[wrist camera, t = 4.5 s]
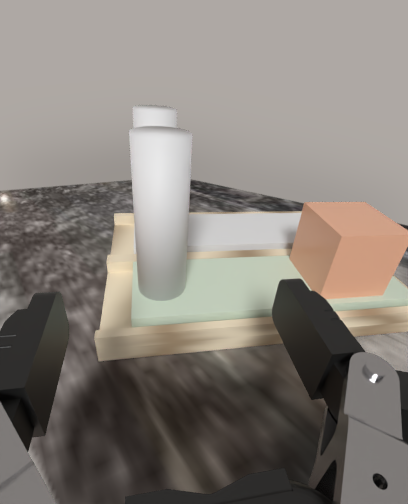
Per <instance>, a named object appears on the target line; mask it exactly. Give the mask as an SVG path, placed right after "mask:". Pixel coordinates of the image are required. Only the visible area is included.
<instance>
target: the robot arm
mask: <svg viewBox="0 0 408 504" xmlns="http://www.w3.org/2000/svg"><path fill="white" fill-rule="evenodd" d="M272 319H273V322H274V325H275V327H276V329H277V331H278V333H279V335H280V337H281V339H282V341H283V343H284V345H285V347H286V349H287V351H288V353H289V355H290V357H291V359H292V361H293V363H294V366H295V368H296V370H297V372H298V374H299V376H300V378H301V380H302V382H303V384H304V386H305V388H306V390H307V392H308V394H309V396H310V398H311V400H314V399H321V398H324V400H325V402H326V404H327V405H326V407H325V410H324V416H323V422H322V427H321V433H320V439H319V444H318V450H317V456H316V461H315V465H314V468H313V471H312V474H311V477H310V480H309V484H308V486H307V485H305V484H303V483H300V482H296V481H293V480H289V479H288V476H287V473H286V470H285V468H281V469H275V470H270V471H264V472H259V473H253V474H248V475H246V476H245V477H243V478H241V479H239V480H237V481H235V482H234V483H232V484H230V485H228V486H226V487H225V488H223V489H221V490H219V491H217V492H215V493H213V494H201V493H193V492H186V491H178V490H171V489H165V490H160V491H154V492H149V493H143V494H138V495H132V496H127V497H125V504H408V372H402V371H397V370H395V369H394V368H393V367H392V366H391V365H390V364H389V363H388V362H387V361H385V360H384V359H382V358H381V357H379V356H377V355H374V354H371V353H367V352H365V351H364V349H363V348H362V347H361V345H360V344H359V343H358V341H357V340H356V339H355V337H354V336H353V335H352V333H351V332H350V331H349V329H348V328H347V327H346V325H345V324H344V323H343V321H342V320H340V317H339V316H338V315H337V313H336V312H335V311H333V308H332V307H331V305H330V304H329V303H328V301H327V300H326V299H325V298H324V297H322V296H321V295H320V294H318V293H317V292H316V291H310V290H309V288H308V287H307V286H306V284H305V283H304V281H303V280H302V279H300V278H297V279H282V280H280V281H279V284H278V288H277V292H276V295H275V299H274V303H273V307H272ZM68 339H69V324H68V319H67V315H66V311H65V307H64V303H63V299H62V295H61V293H60V292H48V293H35V294H34V295H33V297H32V300H31V302H30V304H29V306H28V309H22V310H17V311H16V312H15V313H14V314H13V315H11V316H10V317H9V318H8V319H7V320H6V321H5V322H4V324H3V326H2V328H1V330H0V504H56V502H55V501H54V499H53V497H52V495H51V493H50V491H49V490H48V488H47V486H46V484H45V482H44V480H43V479H42V477H41V475H40V473H39V471H38V470H37V468H36V466H35V464H34V462H33V461H32V459H31V457H30V456H29V454H28V450H29V446H30V443H31V439H32V437H39V436H45V434H46V430H47V426H48V421H49V417H50V413H51V409H52V405H53V401H54V397H55V393H56V389H57V385H58V381H59V377H60V373H61V368H62V364H63V360H64V356H65V352H66V348H67V344H68Z"/></svg>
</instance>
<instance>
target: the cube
mask: <svg viewBox="0 0 408 504" xmlns="http://www.w3.org/2000/svg"><path fill="white" fill-rule="evenodd" d="M407 247H408V230H406V229H405V228H403V227H402V226H400V225H399V224H397V223H396V222H394V221H393V220H391V219H390V218H388V217H387V216H385V215H384V214H382V213H381V212H379V211H378V210H376V209H375V208H373V207H372V206H370V205H369V204H367V203H366V202H305V203H304V206H303V210H302V213H301V217H300V221H299V225H298V228H297V232H296V236H295V239H294V243H293V247H292V251H291V254H290V258H289V259H290V261H291V262H292V263H293V265H294V266H295V268H296V269H297V270H298V272H299V273H300V274H301V276H302V277H303V279H304V280H305V281H306V283H307V284H308V286H309V287H310V288H311V290H312V291H316V292H317V293H318V294H320V295H321V296H322V297H324V298H325V299H339V298H353V297H367V296H382V295H383V294H384V292H385V290H386V288H387V286H388V284H389V282H390V280H391V278H392V276H393V274H394V272H395V270H396V268H397V266H398V264H399V262H400V260H401V259H402V257H403V255H404V253H405V251H406V249H407Z"/></svg>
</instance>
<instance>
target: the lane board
mask: <svg viewBox="0 0 408 504" xmlns="http://www.w3.org/2000/svg"><path fill="white" fill-rule="evenodd" d="M255 213H302V211H294V212H204V213H189V214H255ZM114 221H115V228H114V235H113V242H112V249H111V255H108V257H107V269H108V276H107V283H106V289H105V296H104V303H103V310H102V317H101V323H100V330H96V332H95V338H94V339H95V344H96V350H97V355H98V361H108V360H118V359H128V358H139V357H149V356H159V355H170V354H180V353H190V352H201V351H211V350H221V349H232V348H242V347H252V346H263V345H273V344H283V341H282V339H281V337H280V335H279V333H278V331H277V329H276V327H275V325H274V322H273V319H272V317H259V318H246V319H234V320H221V321H208V322H195V323H183V324H170V325H157V326H144V327H132V323H131V308H132V279H133V262H136V261H137V256H136V254H134V213H115V214H114ZM291 251H292V249H264V250H235V251H207V252H187V259H212V258H237V257H262V256H287V255H290V254H291ZM393 276H394V275H393ZM394 277H395V276H394ZM395 278H396V277H395ZM396 279H397V280H398V281H399V282H400V283H402V282H401V281H400V280H399V279H398V278H396ZM402 284H403V283H402ZM403 285H404V284H403ZM404 286H405V287H406V288H407V289H408V287H407V286H406V285H404ZM335 312H336V313H337V315H338V316H339V317H340V320H342V321H343V323H344V324H345V325H346V327H347V328H348V329H349V331H350V332H351V333H352V335H353V336H354V337H356V336H366V335H377V334H387V333H397V332H408V306H399V307H386V308H374V309H361V310H348V311H335Z"/></svg>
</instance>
